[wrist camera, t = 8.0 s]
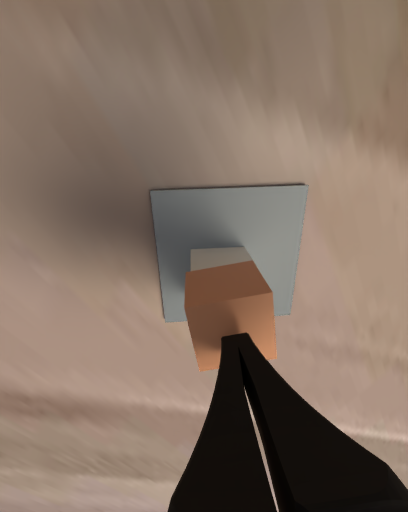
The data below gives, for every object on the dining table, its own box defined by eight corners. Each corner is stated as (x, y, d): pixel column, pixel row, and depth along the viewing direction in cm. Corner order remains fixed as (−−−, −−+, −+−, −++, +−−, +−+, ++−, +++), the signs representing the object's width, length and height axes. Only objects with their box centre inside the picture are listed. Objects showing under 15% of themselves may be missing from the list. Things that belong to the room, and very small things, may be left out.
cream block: (244, 246, 19) (257, 267, 15) (242, 293, 21) (253, 321, 17) (190, 249, 19) (190, 270, 15) (193, 295, 20) (193, 325, 17)
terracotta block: (252, 260, 15) (272, 292, 11) (257, 315, 17) (276, 358, 13) (185, 272, 15) (184, 307, 11) (197, 325, 17) (199, 371, 13)
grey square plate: (305, 184, 18) (308, 185, 17) (288, 311, 22) (290, 314, 22) (151, 190, 17) (149, 191, 17) (165, 318, 22) (165, 322, 21)
